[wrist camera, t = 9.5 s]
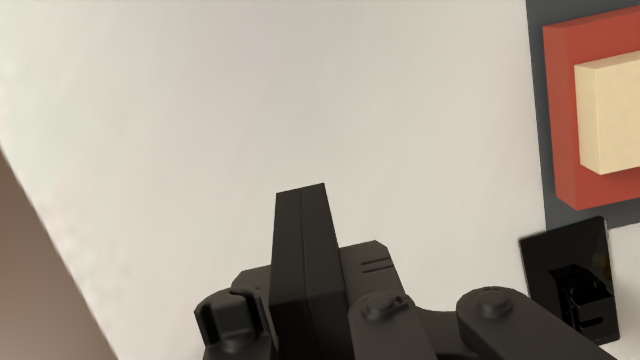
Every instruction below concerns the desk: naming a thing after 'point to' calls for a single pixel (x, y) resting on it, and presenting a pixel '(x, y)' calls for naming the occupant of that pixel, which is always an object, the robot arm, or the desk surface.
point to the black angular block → (574, 277)
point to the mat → (545, 9)
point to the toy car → (595, 107)
